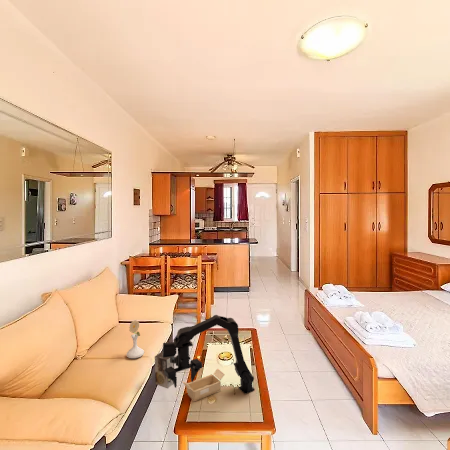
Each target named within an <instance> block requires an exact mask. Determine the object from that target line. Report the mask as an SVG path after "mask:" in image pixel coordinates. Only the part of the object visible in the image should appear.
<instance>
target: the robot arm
mask: <svg viewBox="0 0 450 450" xmlns="http://www.w3.org/2000/svg"><path fill="white" fill-rule="evenodd" d="M216 326H217V327H221V328H222V329H225V330H226V331H227V333H228V335H229V337H230V341H231V347H232V349H233V352H234V357H235V362H233V363H232V364H233V365H234V370H235V371H234V372H235V373H236V374H237V376H238V377H239V378H240V381H239V383H240V386H238V390H239V391H241V392H242V393H243V394H244V395H247V394H249V393H251V392H255V390H256V389H255V388H254V387H253V382H254V380H255V376H254V375H253V374H252V372H251V370H250V369H249V368H248V365H247V363H246V362H245V361H246V360H245V359H244V355H243V351H242V346H241V344H240V343H241V342H240V339H239V324H238V323H237V322H236V320H235V319H234V318H232V317H226V316H221V315H218V314H215V315H213V316H211V317H208V318H207V319H205V320H203V321H200V322H199V323H197V324H194V325H191V326H184V327H182V328H179V329H178V330H177V332H176V336H175V337H174V339H173V341H172V342H163V343H162V352H163V358H165V357H170V363H174V365H175V366H176V368H175V367H174V368H173V367H169V368H166V369H165V370H164V374H165V375H166V377H167V378H168V379H171V380H172V381H173V386H174V388H175V389H177V383H178V381H177V378H178V377H177V373H180V372H182V371H185V370H188V369H190V382H193V381H195V379H196V375H197V374H198V372H199V371H201V369H203V363H202V362H201V361H200V359H199V358H194V359H191V357H190V347H193V346H194V344H193V342H192V340H193V339H194V338H195V336H197V335H199V334H201V333H204V332H205V331H207V330H209V329H211V328H213V327H216ZM176 354H177V355H176Z"/></svg>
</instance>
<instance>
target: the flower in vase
mask: <svg viewBox="0 0 450 450" xmlns="http://www.w3.org/2000/svg"><path fill="white" fill-rule="evenodd" d="M128 328H129V332H131V333H133V334H131V336H130V338H131V339H132V341H133V344H132V347H131V348H130V349H128V351H127V352H126V354H125V355H126V357H127V358H129V359H137V358H138V359H139V358H140V357H142V356H144V354H145V350H144V349H143V348H141V347H139V346H138V338H139V336H141V334H140V331H139V328H140V322H139V321H138V320H137V319H136V320H132V322H130V324H129V327H128Z"/></svg>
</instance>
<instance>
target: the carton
mask: <svg viewBox="0 0 450 450" xmlns="http://www.w3.org/2000/svg"><path fill="white" fill-rule="evenodd" d="M186 383H187V384H188V385H189V386H190V387H191V388H192V389H193V390H191V389H189V388H187V387H186V394H187V393H188V394H187V396H188V397H189V398H190V399H191V400H192V402H197V401H199V400H201V399H204V398H206V397H208V396H210V395H213V394H215V393H219V392H220V391H221V390H222V389H221V387H222V385H221V380H219V379H218V378H217V377H216V376H215V375H214V374H209V375H206V376H203V377H200V378H198V379H194V380H193V382H191V381H190V382H186Z"/></svg>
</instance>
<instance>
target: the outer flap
mask: <svg viewBox="0 0 450 450" xmlns="http://www.w3.org/2000/svg"><path fill="white" fill-rule="evenodd" d="M181 382H182V384H184V386H185V387H186V389H187V388H189V389H191V390H193V389H192V388H191V387H190V386H189V385H188V384H187V383H188V382H185V381H181Z"/></svg>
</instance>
